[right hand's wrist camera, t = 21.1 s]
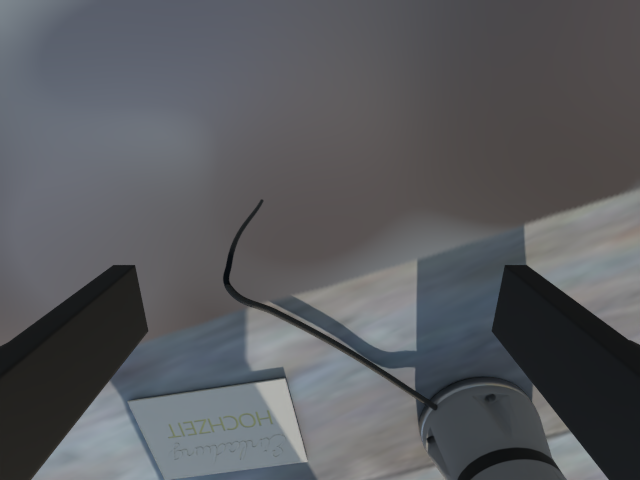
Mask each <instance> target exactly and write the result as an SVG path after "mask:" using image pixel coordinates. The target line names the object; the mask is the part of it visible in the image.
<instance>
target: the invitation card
mask: <svg viewBox="0 0 640 480" xmlns="http://www.w3.org/2000/svg"><path fill="white" fill-rule="evenodd" d="M128 404H129V407H130V409H131V411H132V413H133V415H134V417H135V419H136V421H137V423H138V425H139V427H140V429H141V432H142V434H143V436H144V438H145V440H146V442H147V444H148V446H149V448H150V450H151V452H152V454H153V457H154V459H155V461H156V463H157V465H158V467H159V469H160V471H161V473H162V475H163V477H164V480H172V479H180V478H187V477H195V476H203V475H210V474H218V473H226V472H233V471H241V470H249V469H256V468H264V467H272V466H279V465H287V464H295V463H302V462H308V460H307V456H306V452H305V448H304V445H303V441H302V437H301V434H300V430H299V426H298V422H297V419H296V415H295V411H294V408H293V404H292V400H291V396H290V393H289V389H288V385H287V382H286V378H280V379H274V380H267V381H260V382H253V383H246V384H239V385H233V386H226V387H219V388H212V389H205V390H198V391H192V392H185V393H178V394H171V395H164V396H158V397H151V398H144V399H137V400H130V401H128Z"/></svg>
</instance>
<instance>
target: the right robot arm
mask: <svg viewBox="0 0 640 480" xmlns="http://www.w3.org/2000/svg"><path fill="white" fill-rule="evenodd" d="M262 203H263V200H262V199H261V200H260V202H259V203H258V205H257V206H256V208H255V209H254V210H253V212H252V213H251V214H250V215H249V217H248V218H247V219H246V221H245V222H244V223H243V224H242V226H241V227H240V229H239V231H238V232H237V234H236V236H235V238H234V240H233V242H232V244H231V247H230V250H229V253H228V258H227V262H226V267H225V271H224V274H223V283H224V286H225V288H226V290H227V291H228V293H229V294H230V295H231V296H232V297H233V298H235V299H236V300H237V301H239V302H241V303H243V304H245V305H247V306H250V307H253V308H256V309H259V310H262V311H265V312H267V313H270V314H272V315H274V316H276V317H278V318H280V319H282V320H284V321H286V322H288V323H290V324H292V325H294V326H296V327H298V328H300V329H302V330H304V331H306V332H308V333H310V334H312V335H313V336H315V337H317V338H319V339H321V340H323V341H324V342H326V343H328V344H330V345H332V346H333V347H335V348H337V349H339V350H340V351H342V352H344V353H345V354H347V355H349V356H350V357H352V358H354V359H355V360H357V361H359V362H360V363H362V364H364V365H365V366H367V367H368V368H370V369H371V370H373V371H375V372H376V373H378V374H379V375H381V376H382V377H384V378H386V379H387V380H389V381H390V382H392V383H393V384H395V385H396V386H398V387H399V388H401V389H402V390H404V391H405V392H407V393H408V394H410V395H411V396H413V397H414V398H416V399H417V400H419V401H421V402H422V403H424V404H425V405H426V406H425V408H424V410H423V412H422V414H421V417H420V421H419V432H420V436H421V439H422V442H423V445H424V448H425V450H426V452H427V454H428V455H429V457H430V459H431V460H432V461H433V463H434V464H435V465H436V467H437V468H438V470H439V471H440V472H441V474H442V475H443V477H444V478H445V479H446V480H566V478H565V477H564V475H563V474H562V472H561V471H560V469H559V468H558V466H557V465H556V463H555V462H554V460H553V459H552V456H551V453H550V450H549V446H548V443H547V440H546V436H545V433H544V430H543V426H542V423H541V420H540V417H539V414H538V412H537V410H536V408H535V406H534V404H533V403H532V402H531V400H530V399H529V398H528V396H527V395H526V394H525V392H524V391H523V390H521V389H520V388H519V387H518V386H516V385H514V384H512V383H510V382H508V381H505V380H502V379H498V378H490V377H479V378H471V379H466V380H463V381H459V382H457V383H454V384H452V385H450V386H448V387H446V388H444V389H443V390H441V391H440V392H438V393H437V394H436V395H435V396H434V397H433V398H432V399H431V400H428V399H427V398H425V397H424V396H422V395H421V394H419V393H417V392H416V391H414V390H413V389H411V388H410V387H408V386H407V385H405V384H404V383H402V382H401V381H399V380H398V379H396V378H395V377H393V376H392V375H390V374H389V373H387V372H386V371H384V370H382V369H381V368H379V367H378V366H376V365H375V364H373V363H372V362H370V361H368V360H367V359H365V358H364V357H362V356H360V355H359V354H357V353H356V352H354V351H352V350H351V349H349V348H347V347H346V346H344V345H342V344H340V343H339V342H337V341H335V340H333V339H332V338H330V337H328V336H326V335H325V334H323V333H321V332H319V331H317V330H315V329H314V328H312V327H310V326H308V325H306V324H304V323H302V322H300V321H298V320H296V319H294V318H292V317H290V316H288V315H286V314H284V313H282V312H280V311H278V310H276V309H274V308H272V307H270V306H267V305H264V304H261V303H258V302H255V301H252V300H250V299H247V298H245V297H243V296H242V295H240V294H239V293H238V292H237V291H235V289H234V288H233V287H232V286H231V284H230V281H229V276H230V272H231V268H232V262H233V256H234V252H235V249H236V246H237V243H238V240H239V238H240V236H241V234H242V232H243V231H244V229H245V228H246V226H247V225H248V223H249V222H250V221H251V219H252V218H253V217H254V215H255V214H256V213H257V211H258V210H259V208H260V207H261V205H262ZM147 332H148V327H147V322H146V318H145V313H144V308H143V303H142V298H141V293H140V288H139V283H138V278H137V273H136V268H135V265H113V266H112V267H110V268H109V269H108V270H106V271H105V272H103V273H102V274H101V275H99V276H98V277H97V278H95V279H94V280H93V281H91V282H90V283H89V284H87V285H86V286H84V287H83V288H82V289H80V290H79V291H78V292H76V293H75V294H73V295H72V296H71V297H69V298H68V299H67V300H65V301H64V302H63V303H61V304H60V305H59V306H57V307H56V308H54V309H53V310H52V311H50V312H49V313H48V314H46V315H45V316H44V317H42V318H41V319H40V320H38V321H37V322H35V323H34V324H33V325H31V326H30V327H29V328H27V329H26V330H25V331H23V332H22V333H20V334H19V335H18V336H16V337H15V338H14V339H12V340H11V341H10V342H8V343H6V344H4V345H2V346H0V480H31V479H32V478H33V477H34V475H35V474H36V473H37V472H38V470H39V469H40V468H41V466H42V465H43V464H44V463H45V461H46V460H47V459H48V458H49V456H50V455H51V454H52V453H53V451H54V450H55V449H56V447H57V446H58V445H59V444H60V442H61V441H62V440H63V439H64V437H65V436H66V435H67V433H68V432H69V431H70V430H71V428H72V427H73V426H74V425H75V423H76V422H77V421H78V420H79V418H80V417H81V416H82V414H83V413H84V412H85V411H86V409H87V408H88V407H89V406H90V404H91V403H92V402H93V401H94V399H95V398H96V397H97V395H98V394H99V393H100V392H101V390H102V389H103V388H104V387H105V385H106V384H107V383H108V382H109V380H110V379H111V378H112V376H113V375H114V374H115V373H116V371H117V370H118V369H119V368H120V366H121V365H122V364H123V363H124V361H125V360H126V359H127V357H128V356H129V355H130V354H131V352H132V351H133V350H134V349H135V347H136V346H137V345H138V344H139V342H140V341H141V340H142V338H143V337H144V336H145V335H146V333H147ZM492 332H493V333H494V335H495V336H496V337H497V338H498V340H499V341H500V342H501V344H502V345H503V346H504V347H505V349H506V350H507V351H508V352H509V354H510V355H511V356H512V357H513V359H514V360H515V361H516V363H517V364H518V365H519V366H520V368H521V369H522V370H523V371H524V373H525V374H526V375H527V376H528V378H529V379H530V380H531V382H532V383H533V384H534V385H535V387H536V388H537V389H538V390H539V392H540V393H541V394H542V395H543V397H544V398H545V399H546V401H547V402H548V403H549V404H550V406H551V407H552V408H553V409H554V411H555V412H556V413H557V414H558V416H559V417H560V418H561V420H562V421H563V422H564V423H565V425H566V426H567V427H568V428H569V430H570V431H571V432H572V433H573V435H574V436H575V437H576V439H577V440H578V441H579V442H580V444H581V445H582V446H583V447H584V449H585V450H586V451H587V453H588V454H589V455H590V456H591V458H592V459H593V460H594V461H595V463H596V464H597V465H598V466H599V468H600V469H601V470H602V472H603V473H604V474H605V475H606V477H607V478H608V479H609V480H640V345H639V344H637V343H635V342H633V341H631V340H628V339H626V338H625V337H624V336H622V335H621V334H620V333H618V332H617V331H616V330H614V329H613V328H611V327H610V326H609V325H607V324H606V323H605V322H603V321H602V320H601V319H599V318H598V317H596V316H595V315H594V314H592V313H591V312H590V311H588V310H587V309H586V308H584V307H583V306H581V305H580V304H579V303H577V302H576V301H575V300H573V299H572V298H571V297H569V296H568V295H567V294H565V293H564V292H562V291H561V290H560V289H558V288H557V287H556V286H554V285H553V284H552V283H550V282H549V281H547V280H546V279H545V278H543V277H542V276H541V275H539V274H538V273H537V272H535V271H534V270H532V269H531V268H530V267H528V266H527V265H505V268H504V273H503V278H502V283H501V288H500V293H499V298H498V303H497V308H496V313H495V318H494V322H493V327H492Z"/></svg>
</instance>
